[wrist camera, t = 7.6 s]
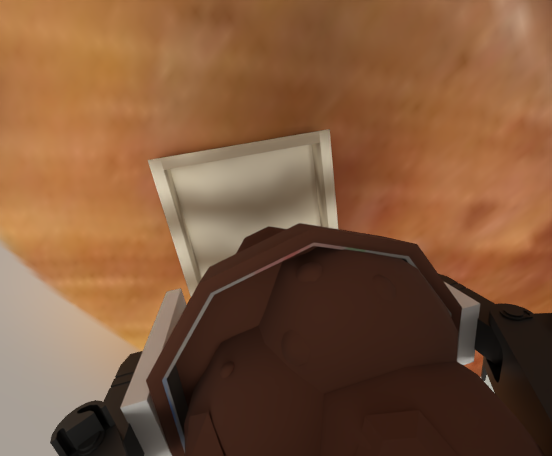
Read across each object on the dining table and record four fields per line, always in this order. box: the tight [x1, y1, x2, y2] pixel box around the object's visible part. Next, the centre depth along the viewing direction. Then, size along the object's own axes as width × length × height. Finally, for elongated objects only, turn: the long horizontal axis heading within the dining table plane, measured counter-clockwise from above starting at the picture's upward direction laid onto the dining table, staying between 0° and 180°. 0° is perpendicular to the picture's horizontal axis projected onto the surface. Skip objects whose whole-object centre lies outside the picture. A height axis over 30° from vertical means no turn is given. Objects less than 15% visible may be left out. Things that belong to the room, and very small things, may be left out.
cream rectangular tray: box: [148, 129, 338, 296], centre depth 28 cm, size 24×16×4 cm, turn 9°
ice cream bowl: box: [146, 223, 545, 456], centre depth 11 cm, size 11×11×15 cm
